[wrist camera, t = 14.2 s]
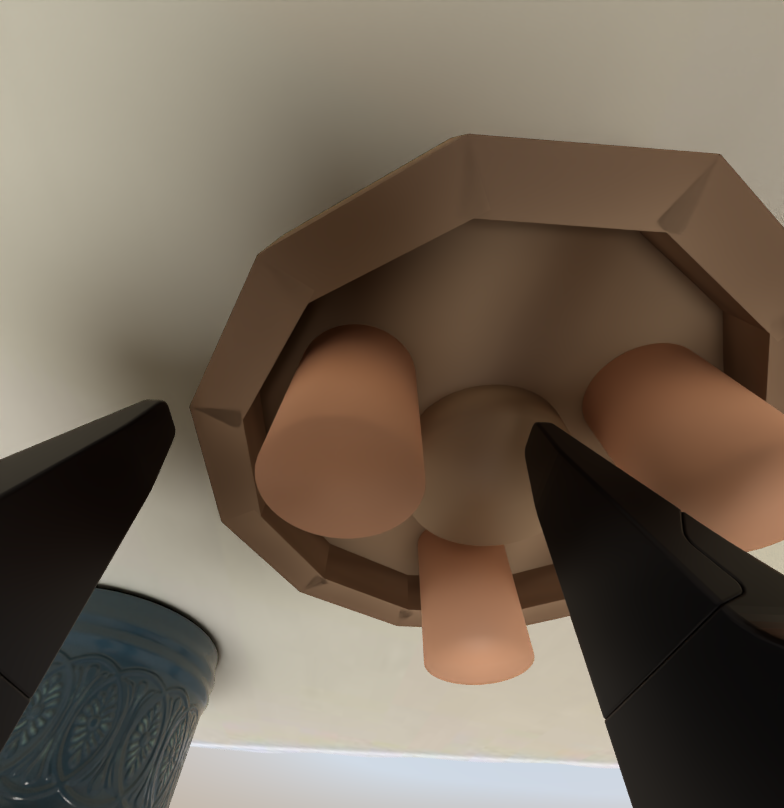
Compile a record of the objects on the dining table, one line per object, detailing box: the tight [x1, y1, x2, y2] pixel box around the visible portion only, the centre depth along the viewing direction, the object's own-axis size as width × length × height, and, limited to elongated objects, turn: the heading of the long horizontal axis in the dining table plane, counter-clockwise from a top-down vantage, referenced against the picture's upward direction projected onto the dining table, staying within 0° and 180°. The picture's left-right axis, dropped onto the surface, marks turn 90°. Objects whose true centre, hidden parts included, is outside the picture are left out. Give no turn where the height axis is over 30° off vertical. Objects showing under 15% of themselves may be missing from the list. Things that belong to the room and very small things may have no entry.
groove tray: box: [190, 134, 784, 627], centre depth 13 cm, size 18×18×3 cm
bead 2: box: [418, 529, 534, 685], centre depth 14 cm, size 4×4×4 cm
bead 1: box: [255, 324, 426, 539], centre depth 10 cm, size 4×4×4 cm
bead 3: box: [582, 343, 784, 552], centre depth 10 cm, size 4×4×4 cm
